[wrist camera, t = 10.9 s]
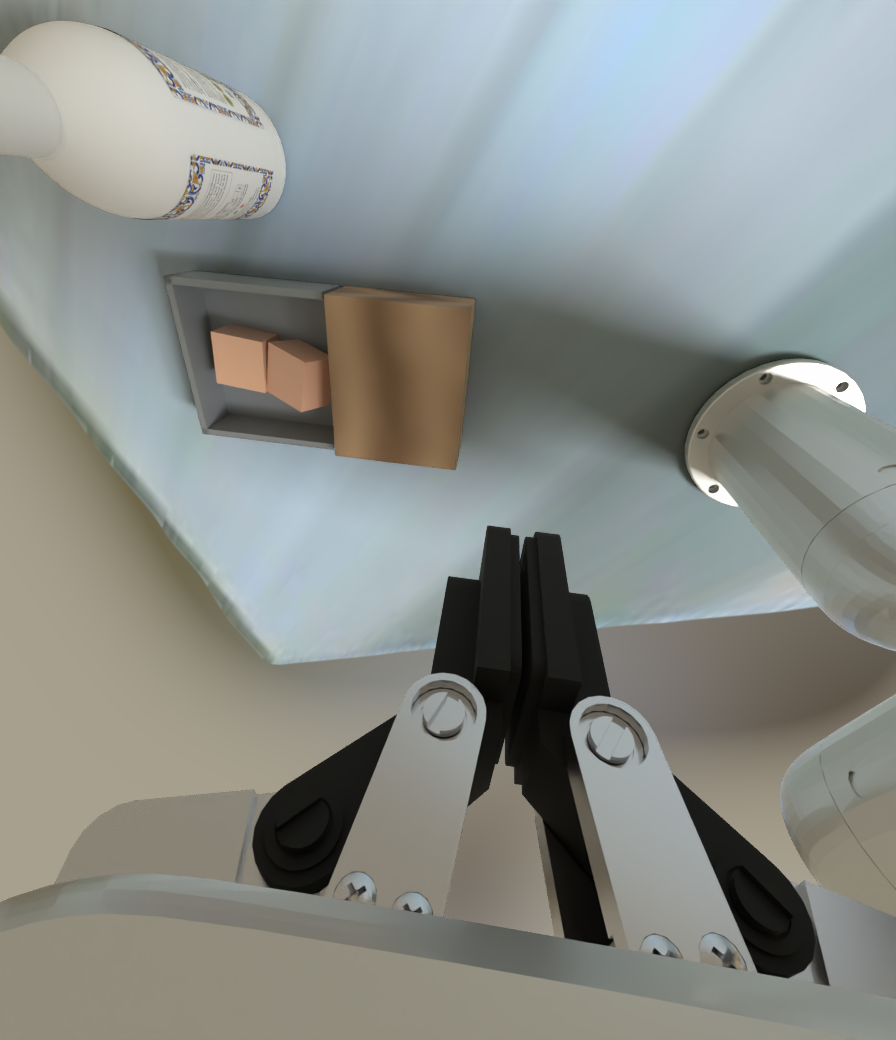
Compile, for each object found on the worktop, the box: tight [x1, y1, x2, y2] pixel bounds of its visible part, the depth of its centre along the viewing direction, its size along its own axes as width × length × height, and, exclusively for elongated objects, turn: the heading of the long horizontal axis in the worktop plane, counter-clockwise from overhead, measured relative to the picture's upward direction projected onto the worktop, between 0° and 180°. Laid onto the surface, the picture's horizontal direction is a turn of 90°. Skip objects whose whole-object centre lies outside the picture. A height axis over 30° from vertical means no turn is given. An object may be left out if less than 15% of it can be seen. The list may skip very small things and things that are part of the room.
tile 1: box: [267, 339, 331, 412], centre depth 36 cm, size 4×4×3 cm
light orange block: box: [211, 324, 279, 393], centre depth 36 cm, size 4×4×3 cm
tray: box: [163, 271, 340, 450], centre depth 36 cm, size 12×12×4 cm
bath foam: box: [0, 21, 286, 220], centre depth 22 cm, size 7×7×20 cm
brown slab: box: [324, 286, 476, 470], centre depth 35 cm, size 10×12×5 cm
